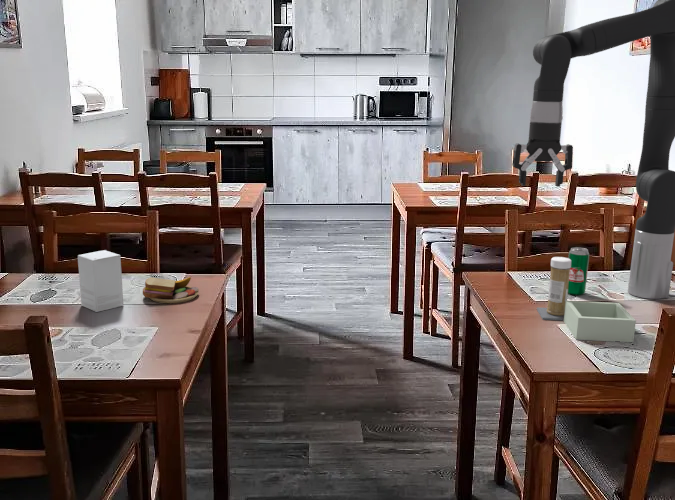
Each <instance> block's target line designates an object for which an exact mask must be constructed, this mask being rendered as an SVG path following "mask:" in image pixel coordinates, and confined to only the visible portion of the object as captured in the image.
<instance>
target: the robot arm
mask: <svg viewBox="0 0 675 500" xmlns="http://www.w3.org/2000/svg"><path fill="white" fill-rule="evenodd" d="M648 37H649V38H650V39H649V42H650V43H649V44H650V54H649V55H650V56H649V67H648V77H647V79H648V81H647V90H646V96H645V97H646V98H645V111H644V123H643V135H642V146H641V147H642V148H641V154H640V159H639V163H638V168H637V174H636V178H635V179H636V180H635V190H636V193H637V195H638V197H639V198H640V199H642V200H643V201H644V202H646V203H647V204H646V209H645V213H644V214H643V216H639V217H638V218H637V220H636V223H635V232H634V239H633V240H634V241H633V249H632V255H631V261H630V262H631V263H630V271H629V278H628V287H627V292H628V294H630V295H632V296H634V297H638V298H643V299H652V300H653V299H654V300H656V299H657V300H658V299H668V298H669V297H670V290H671V289H670V288H671V283H672V275H673V267H674V262H673V261H672V253H673V247H674V246H673V244H674V239H675V171H674V170H672V169H670V167H669V164H670V151H671V149H672V148H671V147H672V145H673V142H674V139H675V0H656V1H655V3H654V4H653V6H652V7H649V8H647V9H644V10H640V11H637V12H632V13H628V14H625V15H624V14H623V15H619V16H614V17H610V18H605V19H603V20H599V21H595V22H592V23H588V24H586V25H582V26H580V27H578V28H575V29H572V30H567V31H563V32H559V33H554V34H551V35H547V36H544V37H542V38H540V39H539V40H537V42H536V43H535V44H534V46H533V49H532V55H533V58H534V59H533V60H535V62H536V63H538V64H539V65H540V66H541V67H540V71H539V72H540V73H539V76H538V77H537V78H536V79H535V81H534V85H533V95H532V103H531V109H530V119H529V131H528V140H527V141H528V142H527V144H521V143H515V144H514V150H513V157H512V164H511V165H512V167H513V168H514V169H516V170H517V169H518V170H519V173H518V183H519V184H520V185H521V186H522V187H525V186H526V184H527V169H528V168H529V167H530V165H532V164H533V163H534V162H537V163H541V162H546V163H550V162H551V163H552V164H553V165H554V166H555V168H556V169H557V170H556V172H555V173H556V174H555V183H554V185H555V187H557V188H558V187H561V185H563V183H564V175H565V174H564V173H565V171H567V170H571V169H573V159H574V157H573V155H574V154H573V153H574V152H573V151H574V145H572V144H569V143H568V144H565V145H564V144H563V145H561V135H562V134H561V133H562V125H563V123H562V122H563V120H564V119H563V117H564V116H563V110H564V108H563V101H564V91H565V90H564V89H565V81H566V79H567V76H568V73H569V68H570V64H571V59H574V58H577V57H578V58H579V57H587V56H591V55H595V54H597V53H600V52H604V51H607V50H611V49H613V48H617V47H620V46H622V45H625V44H627V43H631V42H635V41H637V40H641V39H644V38H648ZM525 150H526V151H527V153H528V155H527V156H526V157H525V159H524V160H523V161H522V163H520V161H521V154H522V153H524V151H525ZM561 151H562V153H563V154H564V164H562V162H561V160H560V158H558V154H560V152H561Z"/></svg>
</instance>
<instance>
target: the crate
mask: <svg viewBox="0 0 675 500" xmlns="http://www.w3.org/2000/svg"><path fill="white" fill-rule="evenodd" d="M563 323H564V324H565V326H566V327H567V328H568V330H569V332H571V334H572V336H573V338H575V340H576V341H577V340H580V341H597V342H615V341H620V342H619V343H634V339H635V338H634V337H635V332H636V331H635V329H636V323H637V320H636V319H635V318H634V317H633V316H632V315H631V313H630V312H629V311H627V309H625V308H624V306H622V304H620V303H619V302H607V301H605V302H603V301H602V302H601V301H583V300H567V301H566V302H565V312H564V321H563Z"/></svg>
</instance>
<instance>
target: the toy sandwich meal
mask: <svg viewBox="0 0 675 500" xmlns="http://www.w3.org/2000/svg"><path fill="white" fill-rule="evenodd" d="M191 279H192V277H191V276H188V277H187V278H184V279H180V280H174V279H167V278H159V277H158V278H157V277H148V278H146V279H145V283H144V287H143V288H142V295H143V296H144V297H145V298H149V299H150V300H152V301H153V302H155V303H160V304H179V303H186V302H189V301H192V300H193V299H195V298H196V297H197V296H198V294H199V290H200V289H199V287H197V286H189V283H190V282H191Z"/></svg>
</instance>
